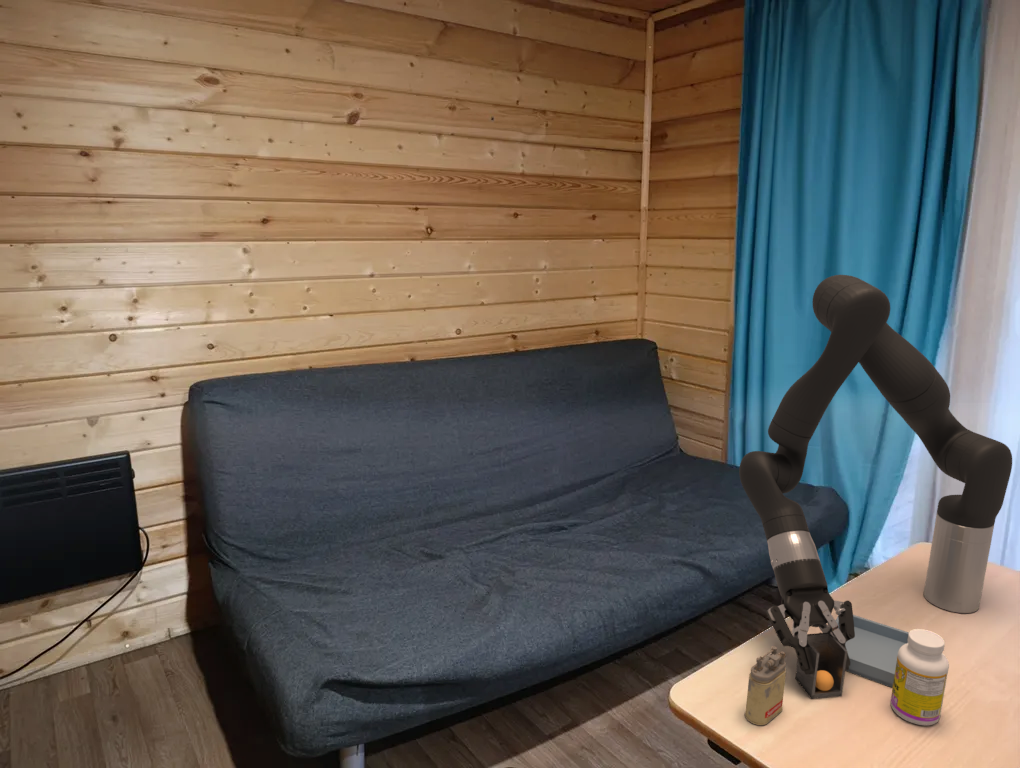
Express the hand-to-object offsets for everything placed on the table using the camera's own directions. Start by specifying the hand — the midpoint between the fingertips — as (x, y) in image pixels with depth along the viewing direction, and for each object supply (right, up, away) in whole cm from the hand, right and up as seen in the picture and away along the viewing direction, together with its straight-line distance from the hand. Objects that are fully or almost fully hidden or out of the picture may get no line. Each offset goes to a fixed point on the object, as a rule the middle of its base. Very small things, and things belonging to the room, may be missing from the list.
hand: (827, 671), depth 114 cm
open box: (0, -4, +3) cm, 5 cm away
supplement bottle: (+12, -5, -3) cm, 13 cm away
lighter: (-11, -5, -3) cm, 12 cm away
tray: (+11, -1, +11) cm, 16 cm away
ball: (0, -2, +1) cm, 2 cm away
